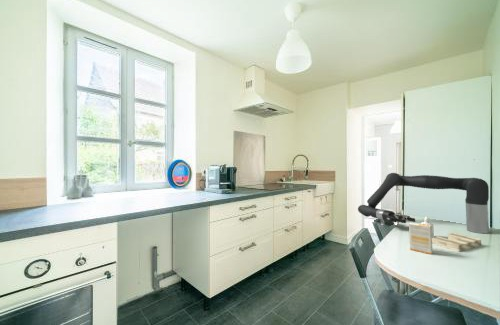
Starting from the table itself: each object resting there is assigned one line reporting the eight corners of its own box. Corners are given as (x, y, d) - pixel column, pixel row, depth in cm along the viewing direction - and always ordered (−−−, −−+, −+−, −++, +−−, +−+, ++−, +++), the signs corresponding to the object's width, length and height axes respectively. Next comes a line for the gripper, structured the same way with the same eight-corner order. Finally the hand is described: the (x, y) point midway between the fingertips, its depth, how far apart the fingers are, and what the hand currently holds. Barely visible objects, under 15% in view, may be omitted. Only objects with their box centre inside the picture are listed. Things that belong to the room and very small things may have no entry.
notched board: (453, 238, 114) (453, 233, 114) (481, 245, 104) (481, 239, 104) (431, 243, 108) (431, 237, 108) (458, 251, 97) (458, 245, 97)
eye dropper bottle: (422, 234, 122) (421, 214, 122) (434, 236, 117) (433, 216, 118) (420, 236, 119) (419, 215, 119) (433, 238, 114) (432, 217, 115)
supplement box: (432, 251, 98) (431, 224, 98) (431, 254, 95) (430, 226, 95) (411, 246, 104) (410, 221, 104) (409, 249, 101) (408, 223, 101)
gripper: (377, 210, 140) (402, 216, 124) (392, 209, 144) (417, 213, 129) (378, 221, 139) (402, 228, 124) (392, 219, 144) (417, 225, 129)
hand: (410, 220), depth 127 cm, fingers open, 8 cm apart
